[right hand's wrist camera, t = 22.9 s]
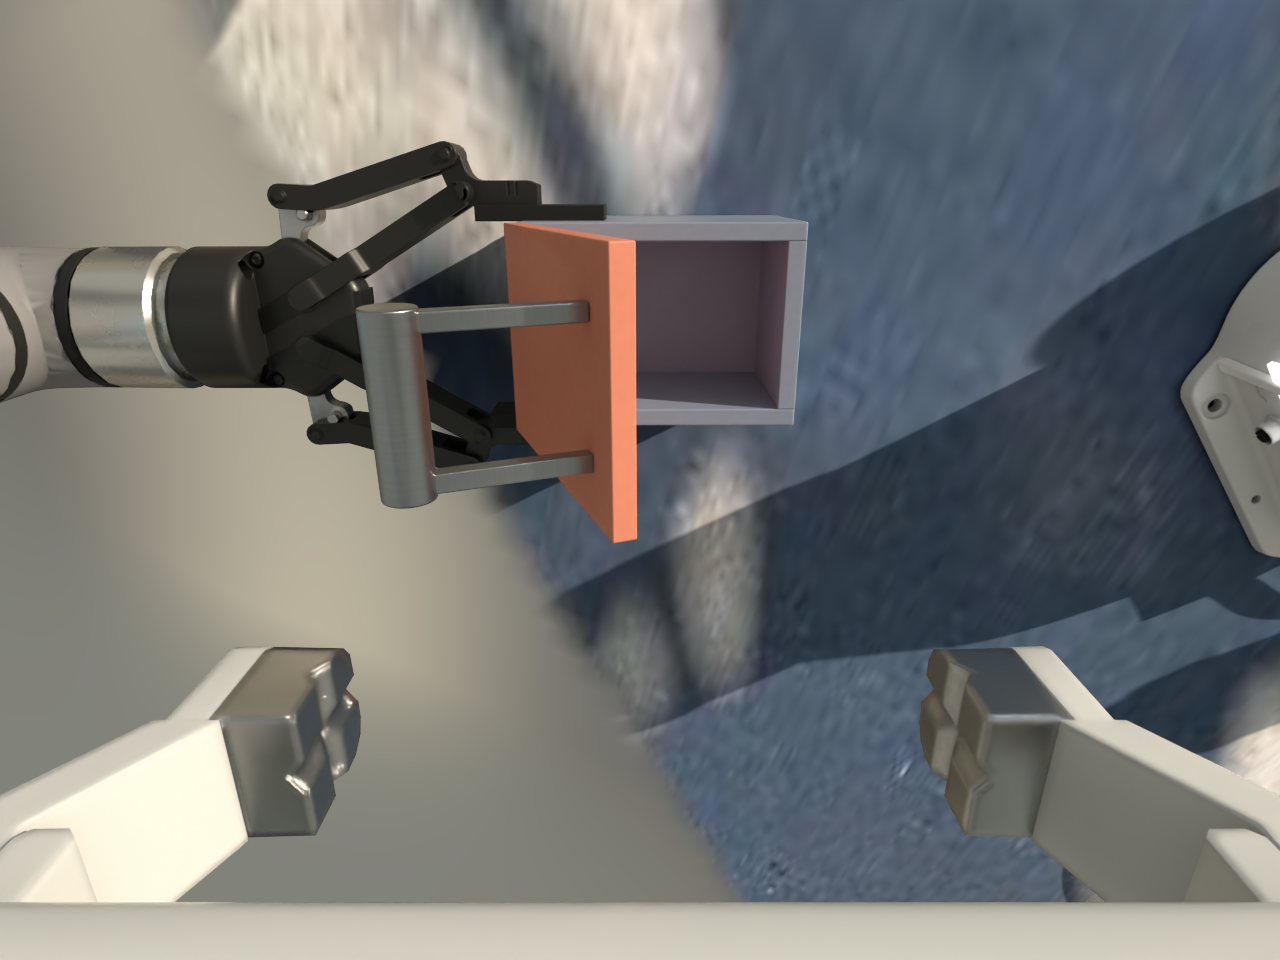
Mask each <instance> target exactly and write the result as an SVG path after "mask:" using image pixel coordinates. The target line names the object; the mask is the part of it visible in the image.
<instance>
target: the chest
mask: <svg viewBox="0 0 1280 960" xmlns="http://www.w3.org/2000/svg"><path fill="white" fill-rule="evenodd" d="M516 223H527V224H533V225H540V226H546V227H553V228H559V229H565V230H572V231H578V232H584V233H591V234H597V235H604V236H610V237H616V238H623V239H629V240H634V241H635V242H636V425H793V421H794V408H795V396H796V382H797V369H798V355H799V342H800V328H801V315H802V302H803V288H804V275H805V261H806V248H807V241H806V240H807V233H808V222H805V221H800V220H795V219H790V218H785V217H780V216H777V215H681V216H607V219H606V220H604V221H520V222H516Z"/></svg>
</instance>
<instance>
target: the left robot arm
mask: <svg viewBox="0 0 1280 960" xmlns="http://www.w3.org/2000/svg"><path fill="white" fill-rule="evenodd" d="M439 175H442V176H443V178H444V180H445V183H446V185H447V187H446V188H444V189H443V190H441V191H440V192H438V193H437V194H435V195H434V196H432V197H431V198H429V199H428V200H426V201H425V202H424V203H422V204H421V205H419V206H418V207H416V208H415V209H413V210H412V211H410V212H409V213H407V214H406V215H404V216H403V217H401V218H400V219H398V220H397V221H395V222H394V223H392V224H391V225H389V226H388V227H386V228H385V229H383V230H382V231H380V232H379V233H377V234H376V235H375V236H373V237H372V238H370V239H369V240H367V241H366V242H364V243H363V244H361V245H360V246H358V247H357V248H355V249H353V250H351V251H349V252H347V253H346V254H344V255H342V256H341V257H339V258H336V257H335V256H333V255H332V254H330V253H329V252H327V251H326V250H324V249H323V248H322V247H320V246H319V245H317V244H316V243H314V242H313V241H311V240H310V239H308V232H309V230H310V229H311V228H312V227H314V226H318V225H321V224H322V223H323V222H324V221H325V218H326V210H330V209H338V208H343V207H347V206H350V205H353V204H356V203H359V202H362V201H365V200H368V199H371V198H374V197H377V196H380V195H383V194H386V193H389V192H392V191H394V190H397V189H400V188H403V187H406V186H409V185H412V184H415V183H418V182H421V181H424V180H427V179H430V178H433V177H436V176H439ZM267 196H268V200H269V202H270V203H271V205H273V206H274V207H275V208H278V209H279V218H280V227H281V235H282V239H280V240H278V241H277V242H275V243H274V244H272V245H270V246H256V247H254V246H253V247H193V248H190V249H188V250H186V249H184V248H181V247H96V248H40V247H0V403H1V402H4V401H7V400H10V399H13V398H16V397H18V396H21V395H25V394H28V393H31V392H34V391H38V390H44V389H53V388H82V387H143V388H197V387H201V386H203V385H205V386H208V387H213V388H289V389H292V390H295V391H297V392H299V393H301V394H303V395H306V396H307V397H308V402H309V406H310V411H311V415H312V420H313V424H312V425H311V426H310V427H308V429H307V436H308V439H309V440H310V441H311V442H312V443H314V444H319V445H321V444H341V443H351V444H355V445H358V446H362V447H365V448H369V449H373V450H374V445H373V437H372V430H371V423H370V415H369V412H361V411H353V408H352V406H351V405H350V404H348V403H346V402H342V401H339V400H337V399H335V398H334V397H333V395H332V393H331V389H333V388H334V387H335V386H337V385H338V384H339V383H340V382H342V381H343V380H344V379H345V380H347V381H349V382H351V383H353V384H355V385H357V386H358V387H360V388H362V389H365V390H366V386H365V379H364V371H363V364H362V357H361V349H360V342H359V335H358V327H357V320H356V313H355V311H356V308H358V307H360V306H363V305H369V304H374V295H373V287H369V286H368V284H367V282H366V280H365V279H366V278H367V277H369V276H370V275H372V274H373V273H375V272H376V271H378V270H379V269H381V268H382V267H383V266H384V265H385V264H387V263H388V262H390V261H391V260H393V259H394V258H396V257H397V256H399V255H400V254H402V253H403V252H405V251H406V250H408V249H409V248H411V247H412V246H414V245H415V244H417V243H418V242H420V241H421V240H423V239H425V238H426V237H428V236H429V235H431V234H432V233H434V232H435V231H437V230H438V229H440V228H441V227H443V226H444V225H446V224H447V223H449V222H450V221H452V220H453V219H455V218H456V217H458V216H459V215H461V214H462V213H464V212H465V211H467V210H468V209H470V208H471V207H473V206H474V209H475V221H604V220H606V219H607V215H606V204H542V200H541V185H540V184H537V183H535V182H532V181H483V180H480V179H478V178H477V177H476V176H475V175H474V174H473V172H472V171H471V168H470V166H469V163H468V161H467V156H466V152H465V150H464V148H462V147H461V146H460V145H457V144H453V143H449V142H445V141H441V142H437V143H434V144H431V145H428V146H426V147H423V148H420V149H417V150H414V151H411V152H408V153H405V154H402V155H399V156H396V157H393V158H391V159H388V160H385V161H382V162H379V163H376V164H373V165H370V166H367V167H364V168H361V169H359V170H356V171H353V172H350V173H347V174H344V175H341V176H338V177H335V178H332V179H329V180H326V181H324V182H321V183H318V184H315V185H307V184H273V185H272V186H270V188H269V189H268V193H267ZM426 383H427V392H428V402H429V411H430V421H431V422H433V423H435V424H437V425H438V426H440V427H442V428H444V429H446V430H448V431H450V432H451V433H453V434H455V435H457V436H459V437H461V438H459V437H455V436H452V435H448V434H444V433H441V432H437V431H434V430H432V440H433V449H434V458H435V467H437V468H444V467H452V466H460V465H468V464H476V463H484V462H486V461H487V459H488V457H489V452H490V449H491V447H492V446H494V445H497V444H529V443H528V442H527V441H526V440H525V438H524V437H523V436H522V435H521V434H520V433H519V431H518V430H517V426H516V410H515V402H498V404H497V405H496V407H495V408H494V410H493V411H492V413H491V414H489V413H487V412H485V411H483V410H481V409H479V408H478V407H476V406H474V405H472V404H470V403H469V402H467V401H465V400H463V399H461V398H459V397H458V396H456V395H454V394H452V393H450V392H448V391H447V390H445V389H443V388H441V387H439V386H437V385H436V384H434V383H432V382H430V381H428V380H427V379H426ZM462 438H463V439H462Z"/></svg>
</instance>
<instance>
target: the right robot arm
mask: <svg viewBox="0 0 1280 960" xmlns="http://www.w3.org/2000/svg"><path fill="white" fill-rule="evenodd" d="M1180 397H1181V400H1182V402H1183V404H1184V407H1185V409H1186V411H1187V413H1188V415H1189V417H1190V419H1191V421H1192V423H1193V425H1194V427H1195V429H1196V431H1197V433H1198V436H1199V438H1200V440H1201V442H1202V444H1203V446H1204V448H1205V450H1206V452H1207V454H1208V456H1209V458H1210V460H1211V462H1212V464H1213V467H1214V469H1215V471H1216V473H1217V475H1218V477H1219V479H1220V481H1221V483H1222V485H1223V487H1224V489H1225V491H1226V493H1227V496H1228V498H1229V500H1230V502H1231V504H1232V506H1233V508H1234V510H1235V512H1236V514H1237V516H1238V518H1239V520H1240V522H1241V525H1242V527H1243V529H1244V531H1245V533H1246V535H1247V537H1248V539H1249V541H1250V543H1251V545H1252V546H1253V547H1254V549H1255V550H1256V551H1258V552H1261V553H1263V554H1265V555H1268V556H1273V557H1280V251H1279V252H1277V253H1276V254H1275V255H1274V256H1273V257H1272V258H1270V259H1269V260H1268V261H1267V262H1266V263H1265V264H1264V265H1263V266H1262V267H1261V268H1260V269H1259V270H1258V271H1257V272H1256V273H1255V274H1254V276H1253V277H1252V278H1251V279H1250V280H1249V282H1248V283H1247V284H1246V285H1245V287H1244V288H1243V290H1242V291H1241V292H1240V294H1239V295H1238V297H1237V298H1236V300H1235V302H1234V304H1233V305H1232V307H1231V309H1230V311H1229V313H1228V315H1227V317H1226V319H1225V322H1224V324H1223V326H1222V328H1221V331H1220V333H1219V335H1218V337H1217V339H1216V341H1215V343H1214V345H1213V347H1212V348H1211V350H1210V351H1209V352H1208V353H1207V354H1206V355H1205V356H1204V357H1203V359H1202V360H1201V361H1200V362H1199V363H1198V364H1197V365H1196V366H1195V367H1194V369H1193V370H1192V371H1191V372H1190V374H1189V375H1188V376H1187V378H1186V379H1185V381H1184V382H1183V384H1182V387H1181V390H1180ZM1212 400H1214V402H1213V405H1212V406H1211V407H1210V408H1208V404H1209V403H1210V402H1211V401H1212ZM926 675H927V677H928V679H929V681H930V682H931V684H932V686H933V688H934V690H933V691H932V692H931V693H930V694H929V695H928V696H927V697H926V698H925V699H924V700H923V701H922V703H921V711H920V719H919V726H920V737H921V744H922V748H923V751H924V755H925V758H926V760H927V762H928V764H929V766H930V768H931V770H932V771H933V772H934V773H936V774H937V775H939V776H940V777H941V778H943V779H944V780H946V781H947V784H946V789H945V795H944V796H945V798H946V800H947V802H948V804H949V806H950V808H951V810H952V812H953V814H954V816H955V818H956V820H957V821H958V823H959V825H960V827H961V829H962V831H963V833H964V835H972V836H1007V837H1032V839H1031V840H1032V841H1033V842H1034V843H1035V844H1036V845H1038V846H1039V847H1040V848H1041V849H1042V850H1044V851H1045V852H1046V853H1047V854H1048V855H1050V856H1051V857H1052V858H1053V859H1055V860H1056V861H1057V862H1058V863H1059V864H1061V865H1062V866H1063V867H1064V868H1065V869H1067V870H1068V871H1069V872H1070V873H1071V874H1073V875H1074V876H1075V877H1076V878H1077V879H1079V880H1080V881H1081V882H1082V883H1083V884H1085V885H1086V886H1087V887H1088V888H1089V889H1091V890H1092V891H1093V892H1094V893H1095V894H1097V895H1098V896H1099V897H1100V898H1102V899H1103V900H1104V901H1105V902H175V901H176V900H177V899H179V898H180V897H181V896H182V895H184V894H185V893H186V892H187V891H188V890H190V889H191V888H192V887H193V886H194V885H196V884H197V883H198V882H199V881H200V880H202V879H203V878H204V877H205V876H206V875H208V874H209V873H210V872H211V871H212V870H214V869H215V868H216V867H217V866H219V865H220V864H221V863H222V862H223V861H225V860H226V859H227V858H228V857H229V856H231V855H232V854H233V853H234V852H235V851H237V850H238V849H239V848H240V847H241V846H243V845H244V844H245V843H246V842H247V841H248V837H272V836H306V835H316V833H317V831H318V829H319V827H320V826H321V824H322V822H323V820H324V817H325V816H326V814H327V812H328V810H329V808H330V806H331V804H332V802H333V800H334V798H335V796H336V795H335V789H334V784H333V781H334V780H336V779H337V778H339V777H340V776H341V775H343V774H344V773H346V772H347V771H348V770H349V768H350V766H351V764H352V762H353V759H354V757H355V755H356V751H357V747H358V742H359V737H360V718H361V717H360V710H359V703H358V701H357V700H356V699H355V698H354V697H353V696H352V695H351V694H350V693H349V692H348V691H347V690H346V688H347V686H348V684H349V682H350V681H351V679H352V677H353V676H354V673H353V668H352V663H351V658H350V654H349V653H348V652H347V651H346V650H345V649H343V648H299V647H273V648H271V647H237V648H233V649H230V650H229V651H228V652H227V653H226V654H225V655H224V656H223V657H222V658H221V659H220V660H219V662H218V663H217V664H216V665H215V666H214V667H213V668H212V669H211V670H210V672H209V673H208V674H207V675H206V676H205V677H204V678H203V679H202V680H201V681H200V683H199V684H198V685H197V686H196V687H195V688H194V689H193V690H192V691H191V693H190V694H189V695H188V696H187V697H186V698H185V699H184V700H183V701H182V703H181V704H180V705H179V706H178V707H177V708H176V709H175V710H174V711H173V713H172V714H171V715H170V716H169V717H168V718H167V719H166V720H153V721H151V722H149V723H147V724H145V725H143V726H141V727H139V728H137V729H135V730H133V731H131V732H129V733H126V734H124V735H122V736H120V737H118V738H116V739H114V740H112V741H110V742H108V743H106V744H104V745H102V746H100V747H98V748H96V749H94V750H92V751H90V752H88V753H86V754H84V755H82V756H79V757H77V758H75V759H73V760H71V761H69V762H67V763H65V764H63V765H61V766H59V767H57V768H55V769H53V770H51V771H49V772H47V773H45V774H43V775H41V776H39V777H36V778H34V779H32V780H30V781H28V782H26V783H24V784H22V785H20V786H18V787H16V788H14V789H12V790H10V791H8V792H6V793H4V794H2V795H0V960H1280V795H1278V794H1276V793H1274V792H1272V791H1270V790H1268V789H1266V788H1264V787H1262V786H1260V785H1258V784H1255V783H1253V782H1251V781H1249V780H1247V779H1245V778H1243V777H1241V776H1239V775H1237V774H1235V773H1233V772H1231V771H1229V770H1227V769H1225V768H1223V767H1221V766H1219V765H1217V764H1215V763H1213V762H1211V761H1209V760H1207V759H1205V758H1202V757H1200V756H1198V755H1196V754H1194V753H1192V752H1190V751H1188V750H1186V749H1184V748H1182V747H1180V746H1178V745H1176V744H1174V743H1172V742H1170V741H1168V740H1166V739H1164V738H1162V737H1160V736H1158V735H1156V734H1154V733H1151V732H1149V731H1147V730H1145V729H1143V728H1141V727H1139V726H1137V725H1135V724H1133V723H1131V722H1129V721H1127V720H1114V719H1113V718H1112V717H1111V716H1110V715H1109V714H1108V713H1107V711H1106V710H1105V709H1104V708H1103V707H1102V706H1101V705H1100V704H1099V703H1098V701H1097V700H1096V699H1095V698H1094V697H1093V696H1092V695H1091V694H1090V693H1089V691H1088V690H1087V689H1086V688H1085V687H1084V686H1083V685H1082V684H1081V683H1080V681H1079V680H1078V679H1077V678H1076V677H1075V676H1074V675H1073V674H1072V673H1071V671H1070V670H1069V669H1068V668H1067V667H1066V666H1065V665H1064V664H1063V663H1062V661H1061V660H1060V659H1059V658H1058V657H1057V656H1056V655H1055V654H1054V653H1053V651H1051V650H1050V649H1047V648H1045V647H1043V646H1036V647H1008V648H985V649H934V650H933V652H932V654H931V656H930V658H929V661H928V667H927V673H926Z"/></svg>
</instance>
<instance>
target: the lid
mask: <svg viewBox="0 0 1280 960" xmlns="http://www.w3.org/2000/svg"><path fill="white" fill-rule="evenodd" d="M504 237H505V252H506V268H507V284H508V300H509V304H492V305H474V306H456V307H437V308H418V306H417V305H414V304H410V303H378V304H369V305H363V306H360V307H358V308H356V311H355V313H356V320H357V327H358V335H359V342H360V349H361V357H362V364H363V371H364V379H365V386H366V393H367V401H368V408H369V415H370V423H371V430H372V437H373V445H374V452H375V459H376V467H377V474H378V482H379V489H380V496H381V501H382V503H383V504H384V505H386V506H388V507H391V508H414V507H419V506H423V505H426V504H429V503H431V502H433V501H434V500H435V499H436V498H437V496H438V494H441V493H448V492H455V491H462V490H469V489H477V488H484V487H491V486H498V485H505V484H512V483H520V482H527V481H534V480H541V479H548V478H556V477H557V478H558V479H559V480H560V481H561V482H562V484H563V485H564V486H565V487H566V488H567V489H568V491H569V492H570V493H571V494H572V495H573V497H574V498H575V499H576V500H577V501H578V502H579V504H580V505H581V506H582V507H583V508H584V510H585V511H586V512H587V513H588V514H589V516H590V517H591V518H592V519H593V520H594V521H595V523H596V524H597V525H598V526H599V527H600V529H601V530H602V531H603V532H604V533H605V534H606V536H607V537H608V538H609V539H610V540H611V542H612V543H618V542H623V541H629V540H635V539H637V475H636V242H635V241H634V240H629V239H623V238H616V237H610V236H604V235H597V234H591V233H584V232H578V231H572V230H565V229H559V228H553V227H546V226H540V225H533V224H527V223H504ZM498 328H510V331H511V347H512V363H513V378H514V394H515V410H516V426H517V430H518V431H519V433H520V434H521V435H522V436H523V437H524V438H525V440H526V441H527V442H528V443H529V444H530V446H531V447H532V448H533V449H534V450H535V451H536V453H537V454H538V456H530V457H523V458H515V459H507V460H499V461H491V462H484V463H476V464H468V465H460V466H452V467H444V468H437V469H436V468H435V458H434V449H433V440H432V430H431V421H430V411H429V402H428V392H427V383H426V374H425V364H424V355H423V345H422V336H421V334H423V333H438V332H453V331H468V330H483V329H498Z"/></svg>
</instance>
